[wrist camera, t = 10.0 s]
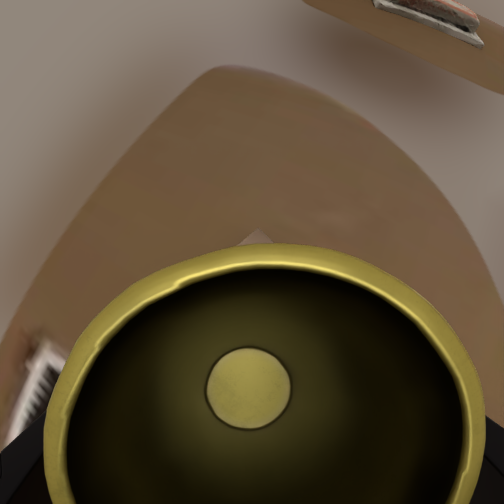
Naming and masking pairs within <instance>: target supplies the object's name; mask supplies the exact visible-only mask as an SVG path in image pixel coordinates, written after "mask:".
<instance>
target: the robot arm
mask: <svg viewBox="0 0 504 504" xmlns="http://www.w3.org/2000/svg"><path fill="white" fill-rule="evenodd" d="M46 412H47V410H46V411H45V412H44V413H43V414H42V415H41V416H40V417H38V418H37V419H36V420H35V421H34V422H33V423H32V424H31V425H30V426H29V427H27V428H26V429H25V430H24V431H23V432H22V433H21V434H20V435H19V436H18V437H16V438H15V439H14V440H13V441H12V442H11V443H10V444H9V445H8V446H7V447H6V448H4V449H3V450H2V451H1V453H0V504H53V503H52V500H51V497H50V494H49V490H48V485H47V481H46V477H45V469H44V424H45V418H46ZM485 422H486V441H485V448H484V455H483V461H482V465H481V469H480V473H479V477H478V481H477V484H476V487H475V490H474V492H473V495H472V497H471V500H470V503H469V504H504V428H503V427H501V426H500V425H498V424H497V423H496V422H494V421H493V420H491V419H490V418H489V417H487V416H486V415H485Z"/></svg>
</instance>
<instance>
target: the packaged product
mask: <svg viewBox="0 0 504 504" xmlns="http://www.w3.org/2000/svg"><path fill="white" fill-rule="evenodd" d="M373 3H374V6H375V7H376V8H378V9H382V10H385V11H388V12H392V13H395V14H398V15H401V16H403V17H406V18H409V19H412V20H414V21H417V22H420V23H422V24H425V25H427V26H430V27H432V28H435V29H437V30H439V31H442V32H444V33H447V34H449V35H451V36H453V37H456V38H458V39H460V40H462V41H465V42H467V43H469V44H471V45H473V46H475V47H477V48H479V49H481V48H482V47H483V46H484V43H483V42H482V40H481V39H480V38H479V36H478V35H477V34H476V33H475V30H476V29H477V28H478V26H479V24H480V22H479V20H478V18H477V15H476V14H475V13H474V12H473V11H471V10H470V9H468V8H467V7H465V6H464V5H461V4H460V3H458V2H455V1H453V0H373Z"/></svg>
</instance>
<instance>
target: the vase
mask: <svg viewBox="0 0 504 504" xmlns="http://www.w3.org/2000/svg"><path fill="white" fill-rule="evenodd" d="M485 441H486V422H485V406H484V397H483V392H482V386H481V382H480V380H479V377H478V374H477V371H476V369H475V366H474V364H473V362H472V360H471V359H470V357H469V355H468V353H467V351H466V349H465V348H464V346H463V344H462V343H461V341H460V340H459V338H458V336H457V335H456V333H455V332H454V330H453V329H452V328H451V326H450V325H449V324H448V322H447V321H446V320H445V318H444V317H443V316H442V315H441V314H440V313H439V312H438V311H437V310H436V309H435V308H434V307H433V306H432V305H431V303H430V302H428V301H427V300H426V299H425V298H423V297H422V296H421V295H420V294H419V293H417V292H416V291H415V290H414V289H412V288H411V287H409V286H408V285H406V284H405V283H403V282H402V281H400V280H398V279H397V278H395V277H394V276H392V275H390V274H388V273H387V272H385V271H383V270H381V269H379V268H377V267H376V266H374V265H372V264H370V263H368V262H365V261H363V260H361V259H359V258H357V257H354V256H351V255H348V254H345V253H342V252H339V251H336V250H333V249H327V248H322V247H316V246H311V245H299V244H287V243H254V244H247V245H240V246H233V247H229V248H225V249H222V250H218V251H214V252H211V253H207V254H204V255H201V256H198V257H194V258H191V259H188V260H185V261H182V262H179V263H177V264H174V265H171V266H169V267H166V268H164V269H161V270H158V271H156V272H154V273H152V274H150V275H149V276H147V277H145V278H143V279H141V280H139V281H137V282H135V283H133V284H132V285H131V286H130V287H128V288H127V289H126V290H125V291H123V292H122V293H121V294H120V295H118V296H117V297H116V298H115V299H113V300H112V301H111V302H110V303H109V304H108V305H107V306H106V307H105V308H104V309H103V310H102V311H101V312H100V313H99V314H98V315H97V316H96V317H95V318H94V319H93V320H92V321H91V322H90V324H89V325H88V326H87V328H86V329H85V330H84V331H83V333H82V334H81V335H80V337H79V338H78V339H77V341H76V343H75V345H74V347H73V349H72V351H71V353H70V355H69V357H68V359H67V361H66V363H65V365H64V367H63V370H62V372H61V374H60V376H59V378H58V381H57V383H56V385H55V387H54V390H53V393H52V396H51V399H50V402H49V405H48V408H47V412H46V418H45V424H44V469H45V477H46V481H47V485H48V490H49V494H50V497H51V500H52V503H53V504H469V503H470V500H471V497H472V495H473V492H474V490H475V487H476V484H477V481H478V477H479V473H480V469H481V465H482V461H483V455H484V448H485Z"/></svg>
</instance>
